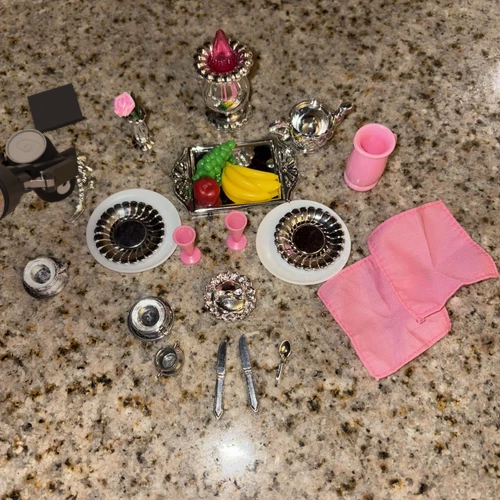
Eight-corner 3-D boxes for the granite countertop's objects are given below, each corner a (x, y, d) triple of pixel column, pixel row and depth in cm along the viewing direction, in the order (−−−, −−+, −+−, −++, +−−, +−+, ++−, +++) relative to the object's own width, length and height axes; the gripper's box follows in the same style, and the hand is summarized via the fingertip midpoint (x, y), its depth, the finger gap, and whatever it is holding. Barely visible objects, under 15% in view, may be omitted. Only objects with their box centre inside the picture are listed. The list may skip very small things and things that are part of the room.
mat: (28, 99, 108) (26, 96, 107) (73, 85, 109) (71, 82, 108) (38, 134, 105) (36, 132, 104) (83, 120, 106) (82, 117, 105)
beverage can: (58, 211, 79) (25, 173, 68) (29, 191, 81) (-8, 150, 70) (85, 182, 81) (58, 140, 70) (56, 163, 83) (25, 118, 72)
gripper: (-99, 226, 59) (-4, 178, 80) (62, 227, 59) (114, 178, 80) (-117, 165, 56) (-14, 131, 77) (52, 165, 56) (109, 131, 77)
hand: (51, 155), depth 79 cm, fingers closed on beverage can, 6 cm apart
